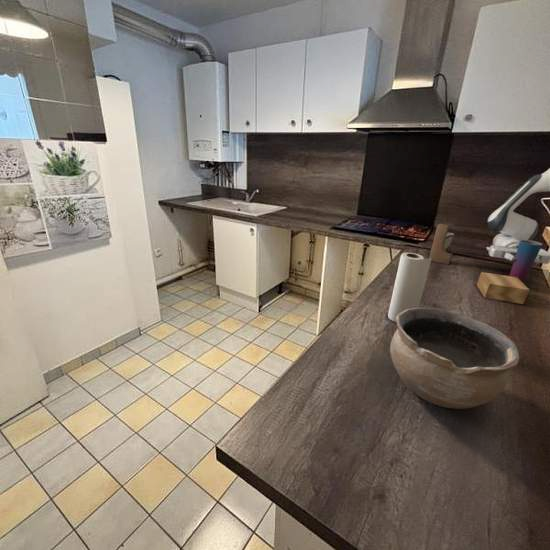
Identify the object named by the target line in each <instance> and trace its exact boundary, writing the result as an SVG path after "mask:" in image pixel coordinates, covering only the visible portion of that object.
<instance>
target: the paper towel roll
mask: <svg viewBox="0 0 550 550" xmlns="http://www.w3.org/2000/svg"><path fill="white" fill-rule="evenodd" d="M431 259H432V258H429V257H426V258H425V257H424V256H423V255H421V254H419V253H414V252H402V253H401V254H400V257H399V263H398V266H397V272H396V277H395V281H394V286H393V290H392V296H391V299H390V304H389V308H388V313H387V317H388V319H389V320H390V321H392V322H394V323H397V322H396V317H397V315H398V314H399V313H401V312H403V311H405V310H407V309H413V308H420V305H421V300H422V296H423V292H424V289H425V285H426V281H427V278H428V275H429V269H430V266H431V262H432V261H431Z"/></svg>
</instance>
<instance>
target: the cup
mask: <svg viewBox="0 0 550 550" xmlns="http://www.w3.org/2000/svg"><path fill="white" fill-rule="evenodd" d="M542 247H543V243H541V242H539V241H536V240H531V241H530V240H520V242H519V246H518V249H517V253H516V257H517V259H516V261H513V263H512V265H511V270H510V273H509V276H512V277H517V278H518V279H519V280H520V281H521V282H523V281H526V279H527V277H528V275H529V273H530V271H531V269H532V267H533V265H534V264H535V263H534V261H535V259H536V257H537V255H538V253H539V251H540V249H542Z"/></svg>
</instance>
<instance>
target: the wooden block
mask: <svg viewBox="0 0 550 550" xmlns="http://www.w3.org/2000/svg"><path fill="white" fill-rule="evenodd" d="M449 229H450V224H446V223H445V224H444V223H438V225H436V230H435V234H434V236H433V240H432V245H431V248H430V252H429V253H430V254H429V257H428V258H432V259H431V262H435V263H438V264H444V265H450V264H451V260H452V257H453V253H450V252H449V251H447V252H446V251H445V249H444V243H445V240H446V236H447V233H449Z"/></svg>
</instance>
